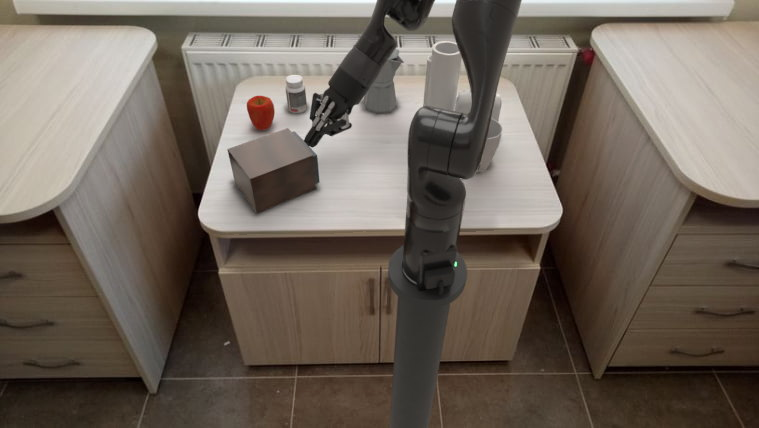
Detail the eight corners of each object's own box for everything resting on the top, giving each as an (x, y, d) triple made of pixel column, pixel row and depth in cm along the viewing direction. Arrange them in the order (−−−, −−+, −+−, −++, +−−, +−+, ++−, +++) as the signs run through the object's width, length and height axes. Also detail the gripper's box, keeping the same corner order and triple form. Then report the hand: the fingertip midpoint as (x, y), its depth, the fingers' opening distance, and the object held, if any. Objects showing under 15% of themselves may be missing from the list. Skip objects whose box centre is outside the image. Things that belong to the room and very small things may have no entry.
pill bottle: (310, 108, 136) (308, 78, 130) (296, 115, 134) (293, 85, 128) (298, 101, 139) (295, 71, 133) (284, 108, 136) (280, 78, 130)
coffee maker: (410, 104, 138) (414, 38, 125) (391, 120, 133) (394, 53, 120) (362, 86, 144) (362, 21, 131) (343, 101, 139) (340, 34, 126)
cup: (451, 159, 122) (456, 122, 115) (481, 149, 125) (487, 112, 118) (471, 180, 117) (478, 142, 110) (502, 169, 120) (510, 132, 113)
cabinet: (292, 161, 121) (287, 127, 115) (316, 189, 114) (313, 155, 108) (234, 183, 115) (227, 149, 109) (256, 213, 109) (249, 179, 102)
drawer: (302, 156, 121) (299, 129, 116) (324, 180, 115) (322, 153, 110) (245, 177, 115) (239, 150, 110) (265, 204, 109) (260, 176, 104)
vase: (454, 132, 130) (465, 55, 116) (424, 132, 130) (431, 55, 116) (449, 106, 138) (458, 31, 124) (421, 105, 138) (427, 30, 124)
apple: (281, 124, 131) (278, 97, 126) (265, 137, 127) (260, 109, 122) (262, 116, 133) (257, 89, 128) (244, 128, 130) (239, 101, 124)
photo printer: (451, 140, 127) (457, 94, 119) (451, 129, 130) (457, 84, 122) (495, 143, 127) (504, 97, 118) (494, 132, 130) (503, 87, 121)
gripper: (326, 53, 110) (281, 123, 114) (361, 82, 102) (310, 156, 107) (350, 68, 116) (306, 134, 120) (384, 97, 108) (336, 167, 112)
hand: (308, 144), depth 113 cm, fingers closed
